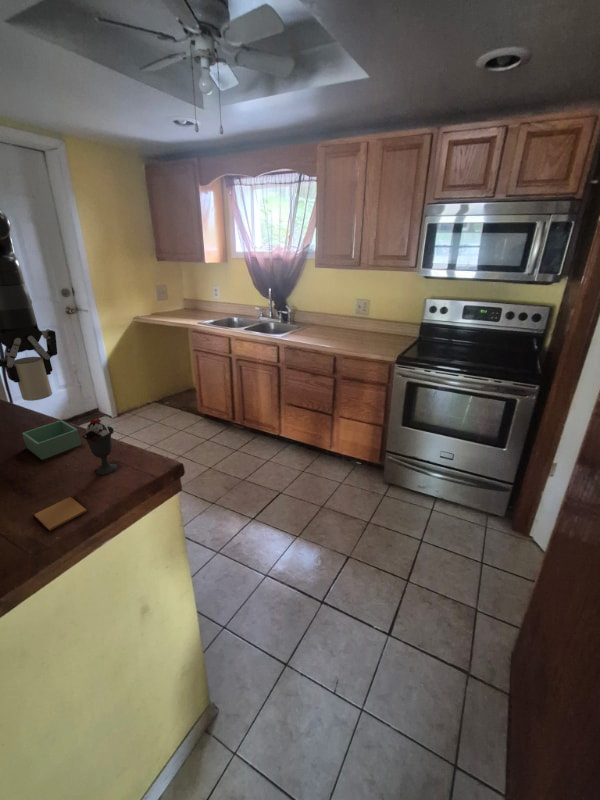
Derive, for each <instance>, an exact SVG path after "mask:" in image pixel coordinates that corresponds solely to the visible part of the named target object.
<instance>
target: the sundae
mask: <svg viewBox="0 0 600 800" xmlns="http://www.w3.org/2000/svg"><path fill="white" fill-rule="evenodd" d="M92 412H93V414H94V415H93V418H92V419H90V422H89V424H88V425H87V427H86V430H85V431H84V432H83V434H81V438H82V439H84V440H86V442H87V444H88V447H89V449H90V451H91V453H92V455H93V456H94V457H96V458H100V459H101V466H99V468H98V469H95V470H94V472H95V474H97V475H101V476H103V475H108V474H112V473H114V472H115V471H116V470H117V469H118V464H117V463H115V462H111V463H110V462H109V461H108V457H109V456H110V454H111V452H112V449H113V447H112V446H113V445H112V435H113V434H114V432H115V430H114V428H113V427H112V426H110V425H107V424H105V423H104V422H102V419H100V418H99V416H98V414H97V413H96V409H94V410H92ZM95 417H96V418H95Z"/></svg>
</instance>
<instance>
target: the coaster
mask: <svg viewBox="0 0 600 800" xmlns="http://www.w3.org/2000/svg"><path fill="white" fill-rule="evenodd" d="M87 511H88V510H87V509H86V508H85V507H84V506H82V505H81V504H80V503H79V502H77V501H76V500H75V499H74V498H73V497H71V496H69V497H66V498H65V499H63V500H61V501H59V502H56V503H54V504H53V505H50V506H48V507H46V508H44V509H42V510H40V511H38V512H36V513H34V514H33V515H34V517H35V519H37V520H38V521H39V522H40V523H41V524H42V525H43V526H44V527H45V528H46V529H47V530H48V531H49V532H51V531H52V530H54V529H56V528H59V527H60V526H63V525H64V524H66V523H68V522H69V521H72V520H73V519H75V518H77V517H79V516H81V515H83V514H85V513H87Z"/></svg>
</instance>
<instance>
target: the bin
mask: <svg viewBox="0 0 600 800" xmlns="http://www.w3.org/2000/svg"><path fill="white" fill-rule="evenodd" d="M21 435H22V438H23V441H24V444H25V447H26V449H27V450H29V451H30V452H31V453H32V454H34V455H35V456H36V457H37V458H39V459H40V460H42V461H43V460H45V459H48V458H50V457H53V456H57V455H58V454H61V453H64V452H66V451H69V450H71V449H73V448H77V447H79V446H81V445H82V441H81V437H80V434H79V430H78V428H76V427H74V426H73V425H70V424H69V423H68V422H65V421H63V420H62V419H60V420H57V421H54V422H50V423H48V424H44V425H41V426H39V427H35V428H33V429H29V430H27V431H24V432H21Z"/></svg>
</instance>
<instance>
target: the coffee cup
mask: <svg viewBox="0 0 600 800" xmlns="http://www.w3.org/2000/svg"><path fill="white" fill-rule="evenodd" d="M13 366H14V367H15V368H16V371H17V374H18V378H19V381H20V382H17V385H18V389H19V392H20V395H21V398H22V400H23V401H28V402H29V401H31V402H33V401H39V400H44V399H47V398H49V397H51V396H52V395H53V391H52V387H51V383H50V380H49V375H47V372H46V369H45V365H44V361H43V358H42V357H40V356H27V357H21V358H16V359H15V361H14V365H13Z"/></svg>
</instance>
